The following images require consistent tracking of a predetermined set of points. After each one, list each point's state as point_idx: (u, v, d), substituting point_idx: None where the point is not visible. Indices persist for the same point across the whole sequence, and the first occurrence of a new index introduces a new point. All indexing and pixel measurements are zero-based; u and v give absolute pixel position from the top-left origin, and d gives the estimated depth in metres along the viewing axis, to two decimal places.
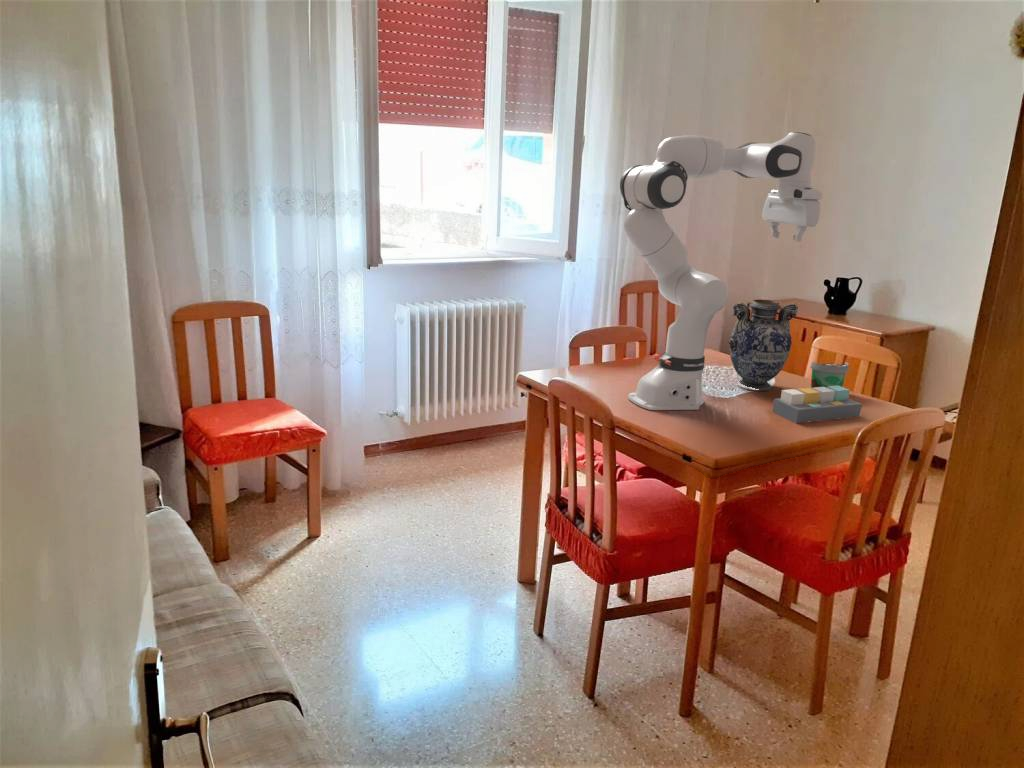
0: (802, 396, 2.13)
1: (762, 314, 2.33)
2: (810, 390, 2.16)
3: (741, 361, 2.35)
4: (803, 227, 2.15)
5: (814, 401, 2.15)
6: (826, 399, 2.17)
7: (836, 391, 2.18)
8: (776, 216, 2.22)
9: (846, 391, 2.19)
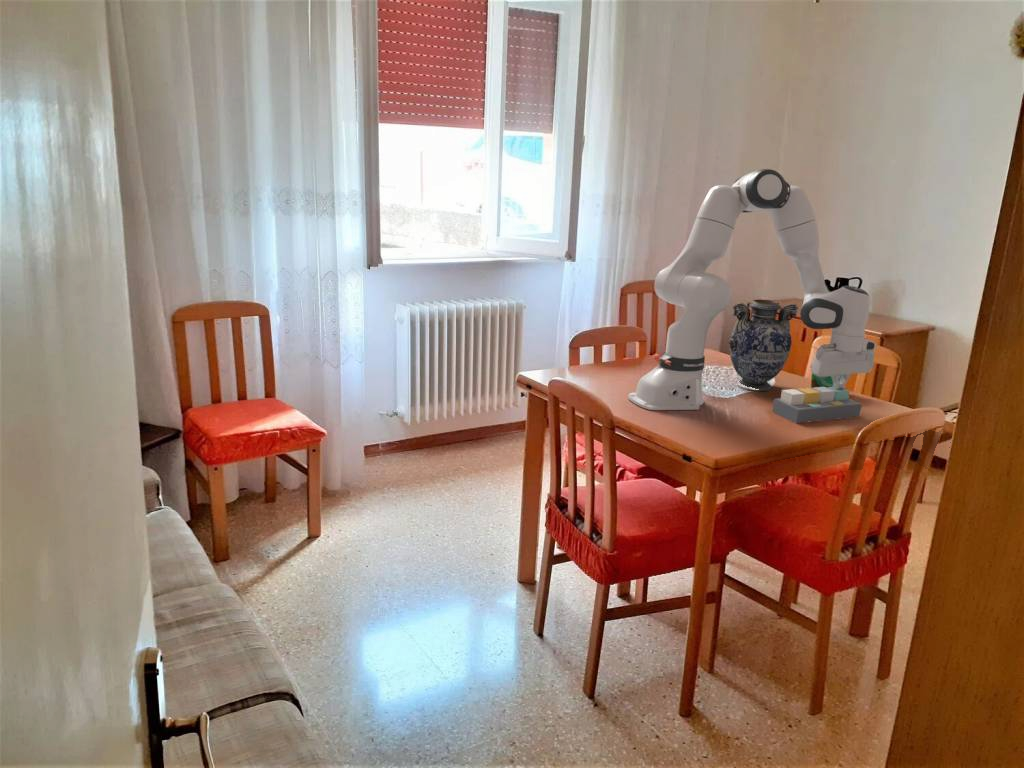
0: (802, 396, 2.13)
1: (762, 314, 2.33)
2: (810, 390, 2.16)
3: (741, 361, 2.35)
4: None
5: (814, 401, 2.15)
6: (826, 399, 2.17)
7: (836, 392, 2.18)
8: (837, 369, 2.16)
9: (846, 392, 2.19)
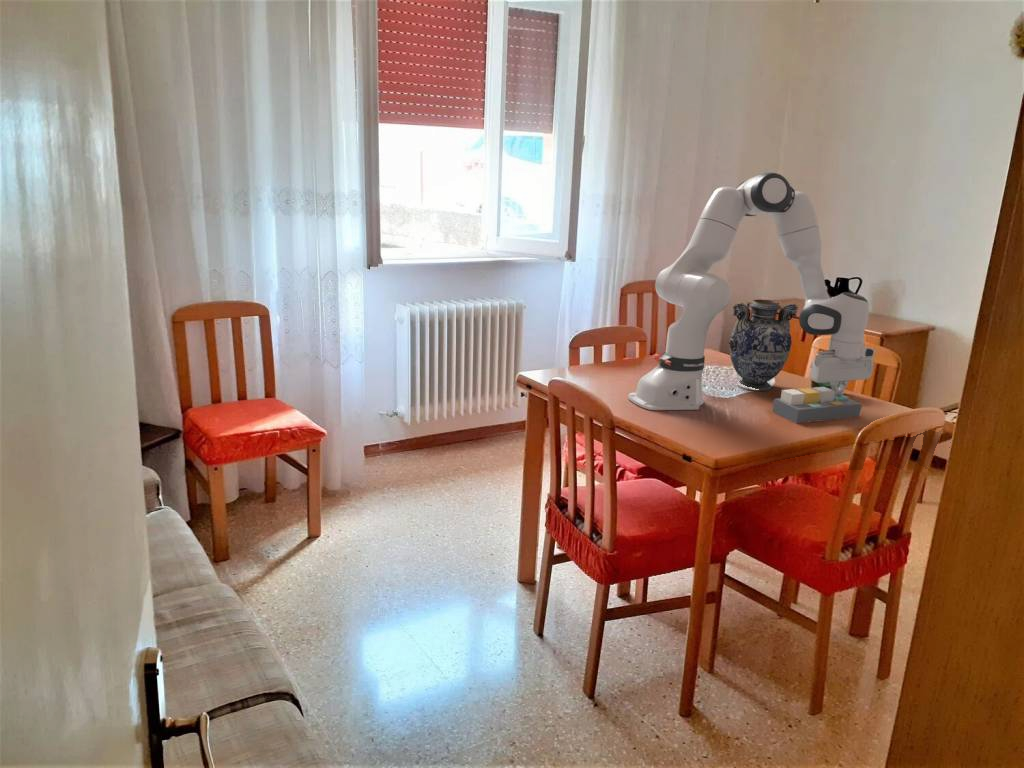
0: (802, 396, 2.13)
1: (762, 314, 2.33)
2: (810, 390, 2.16)
3: (741, 361, 2.35)
4: None
5: (814, 401, 2.15)
6: (826, 399, 2.17)
7: (835, 398, 2.19)
8: (835, 376, 2.16)
9: (845, 398, 2.19)
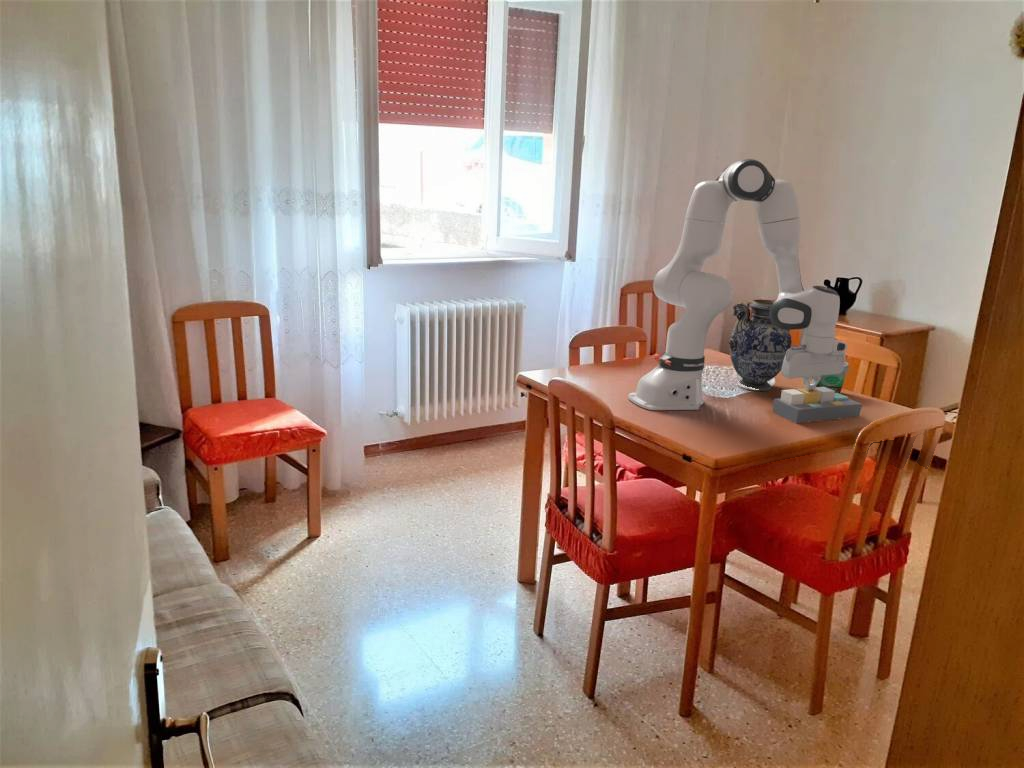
0: (802, 396, 2.13)
1: (762, 314, 2.33)
2: None
3: (741, 361, 2.35)
4: None
5: (814, 401, 2.15)
6: (826, 399, 2.17)
7: (835, 398, 2.19)
8: (807, 371, 2.12)
9: (845, 398, 2.19)
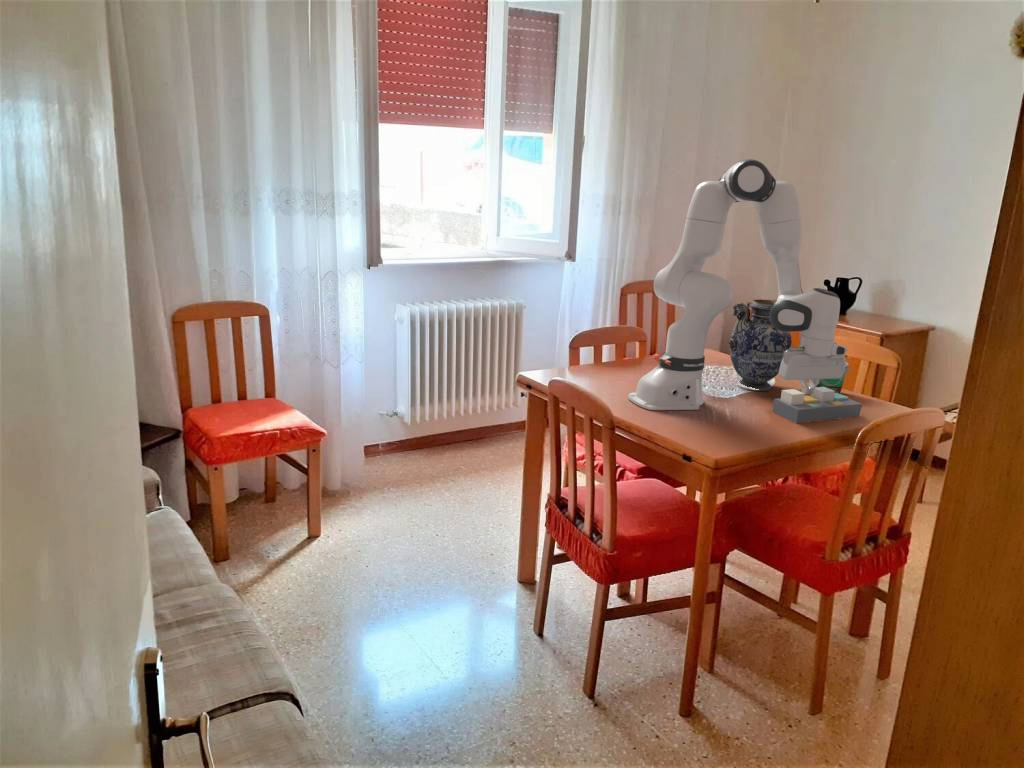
0: (802, 396, 2.13)
1: (762, 314, 2.33)
2: (809, 398, 2.17)
3: (741, 361, 2.35)
4: None
5: None
6: (826, 399, 2.17)
7: (835, 398, 2.19)
8: (805, 374, 2.11)
9: (845, 398, 2.19)
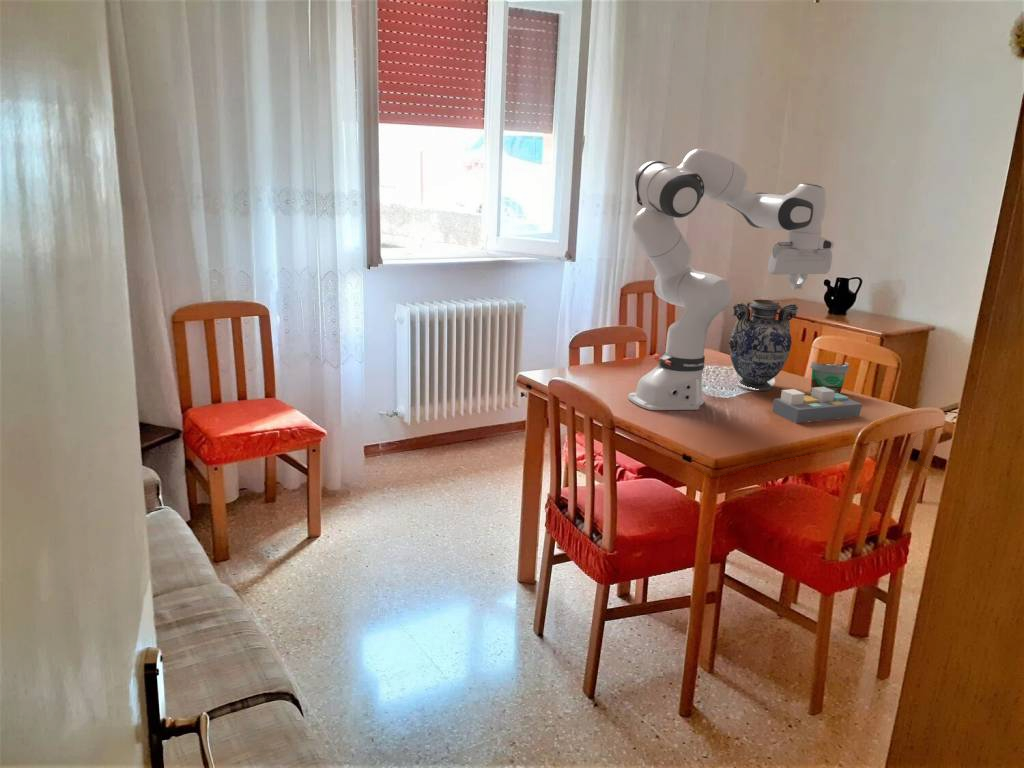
0: (802, 396, 2.13)
1: (762, 314, 2.33)
2: (809, 398, 2.17)
3: (741, 361, 2.35)
4: None
5: None
6: (826, 399, 2.17)
7: (835, 398, 2.19)
8: (793, 268, 2.16)
9: (845, 398, 2.19)
